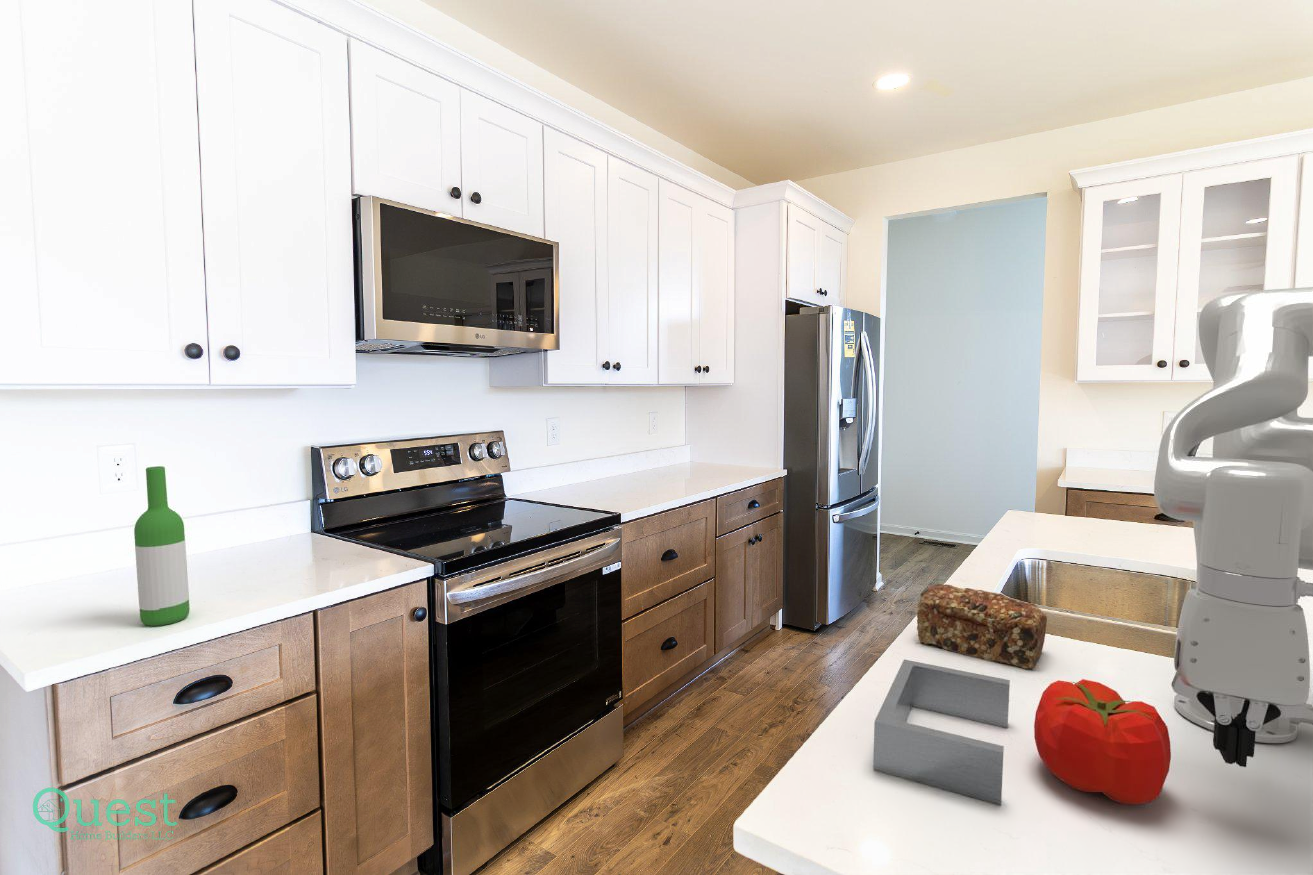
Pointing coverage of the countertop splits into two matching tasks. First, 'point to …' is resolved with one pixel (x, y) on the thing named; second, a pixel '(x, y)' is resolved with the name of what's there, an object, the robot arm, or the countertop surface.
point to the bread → (981, 624)
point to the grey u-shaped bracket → (935, 751)
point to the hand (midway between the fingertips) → (1232, 758)
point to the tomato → (1102, 741)
